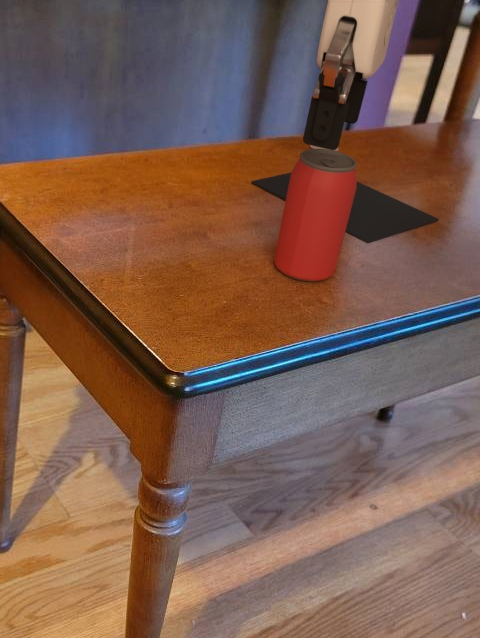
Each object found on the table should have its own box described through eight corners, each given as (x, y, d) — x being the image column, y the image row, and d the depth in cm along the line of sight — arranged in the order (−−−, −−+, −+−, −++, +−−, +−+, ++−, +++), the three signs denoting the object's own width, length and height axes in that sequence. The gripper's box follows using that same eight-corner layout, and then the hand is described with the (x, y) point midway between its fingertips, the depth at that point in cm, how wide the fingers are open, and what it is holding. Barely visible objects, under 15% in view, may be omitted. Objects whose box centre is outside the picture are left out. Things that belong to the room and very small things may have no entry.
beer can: (276, 281, 76) (299, 167, 69) (269, 253, 81) (290, 143, 74) (339, 287, 77) (368, 173, 69) (328, 258, 82) (355, 150, 75)
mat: (438, 221, 94) (439, 218, 94) (367, 243, 86) (368, 240, 86) (322, 167, 105) (322, 165, 105) (251, 183, 98) (251, 180, 98)
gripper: (415, -70, 52) (353, 168, 63) (437, -78, 66) (383, 119, 76) (312, -86, 54) (268, 148, 64) (354, -91, 67) (312, 104, 78)
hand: (330, 132), depth 70 cm, fingers open, 9 cm apart
